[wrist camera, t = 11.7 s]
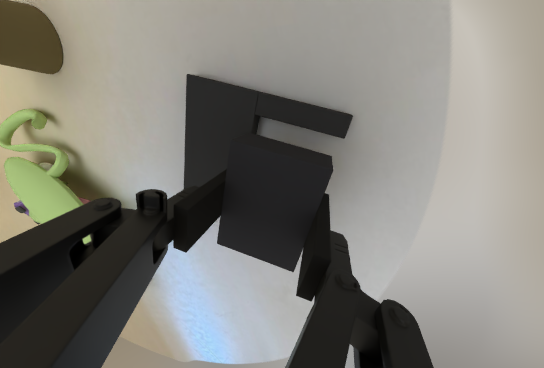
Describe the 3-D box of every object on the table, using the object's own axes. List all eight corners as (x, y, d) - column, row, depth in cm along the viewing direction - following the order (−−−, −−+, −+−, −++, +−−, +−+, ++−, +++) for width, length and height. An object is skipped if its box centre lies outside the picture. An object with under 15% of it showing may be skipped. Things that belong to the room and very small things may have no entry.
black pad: (191, 197, 23) (183, 202, 22) (196, 75, 18) (186, 73, 16) (304, 236, 21) (303, 245, 20) (350, 114, 16) (353, 115, 14)
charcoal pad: (331, 156, 13) (333, 169, 10) (298, 244, 16) (293, 272, 14) (248, 132, 14) (230, 139, 11) (233, 221, 17) (216, 243, 15)
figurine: (147, 290, 34) (116, 323, 29) (17, 187, 32) (-41, 204, 27) (196, 235, 26) (164, 267, 21) (24, 90, 23) (-57, 88, 18)
